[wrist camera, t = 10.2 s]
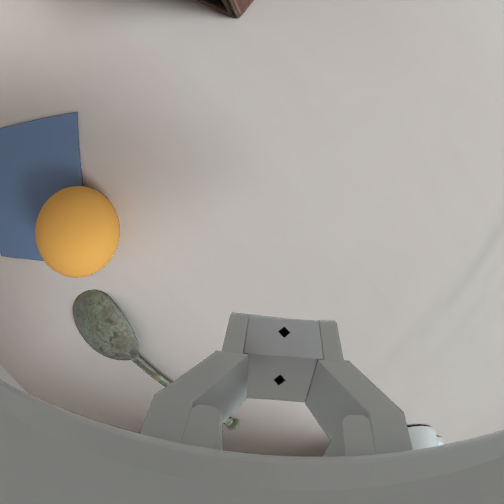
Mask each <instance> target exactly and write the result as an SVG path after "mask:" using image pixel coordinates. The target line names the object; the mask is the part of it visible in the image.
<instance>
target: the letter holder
mask: <svg viewBox="0 0 504 504" xmlns="http://www.w3.org/2000/svg"><path fill="white" fill-rule="evenodd" d="M197 1H199V2H201V3H203V4H205V5H208V6H210V7H212V8H214V9H216V10H218V11H220V12H222V13H224V14H226V15H228V16H230V17H232V18H237V19H238V18H239V17H240V16H241V15H242V14H243V13H244V12H245V10H246V9H247V8H248V7H249V5H250V4H251V3H252V2H253V0H197Z"/></svg>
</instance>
